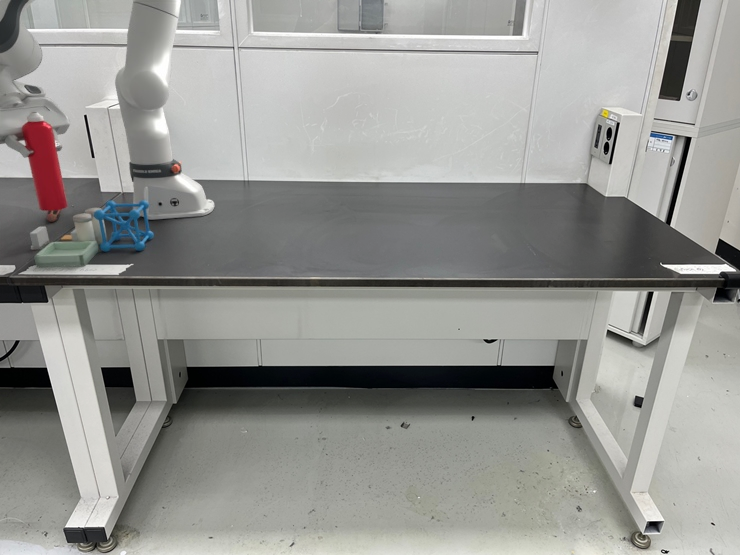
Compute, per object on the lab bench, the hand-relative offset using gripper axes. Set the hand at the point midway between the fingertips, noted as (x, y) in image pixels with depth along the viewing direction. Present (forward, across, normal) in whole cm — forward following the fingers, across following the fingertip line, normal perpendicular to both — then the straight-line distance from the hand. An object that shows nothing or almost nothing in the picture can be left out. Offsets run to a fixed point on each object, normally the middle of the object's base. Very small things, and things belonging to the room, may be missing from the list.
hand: (44, 152), depth 116 cm
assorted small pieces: (+14, +3, +19) cm, 24 cm away
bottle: (+8, 0, +9) cm, 12 cm away
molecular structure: (+21, +12, +12) cm, 27 cm away
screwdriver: (-6, +25, +40) cm, 47 cm away
